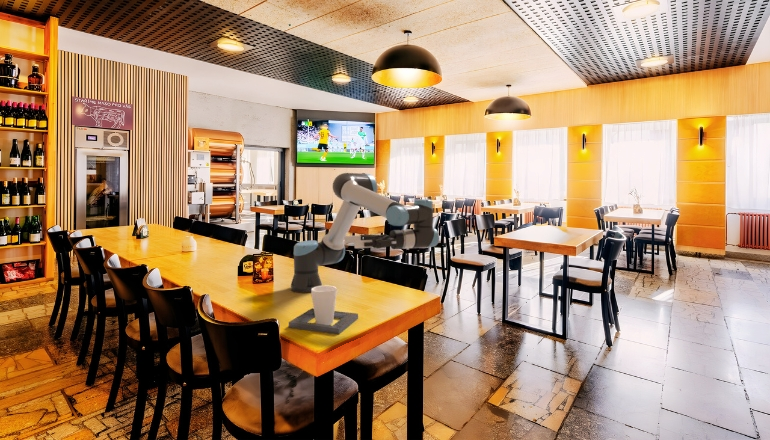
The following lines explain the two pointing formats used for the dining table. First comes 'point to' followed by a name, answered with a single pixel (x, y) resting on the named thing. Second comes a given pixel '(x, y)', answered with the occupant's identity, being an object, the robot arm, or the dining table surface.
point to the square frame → (337, 328)
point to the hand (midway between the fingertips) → (349, 242)
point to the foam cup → (324, 303)
